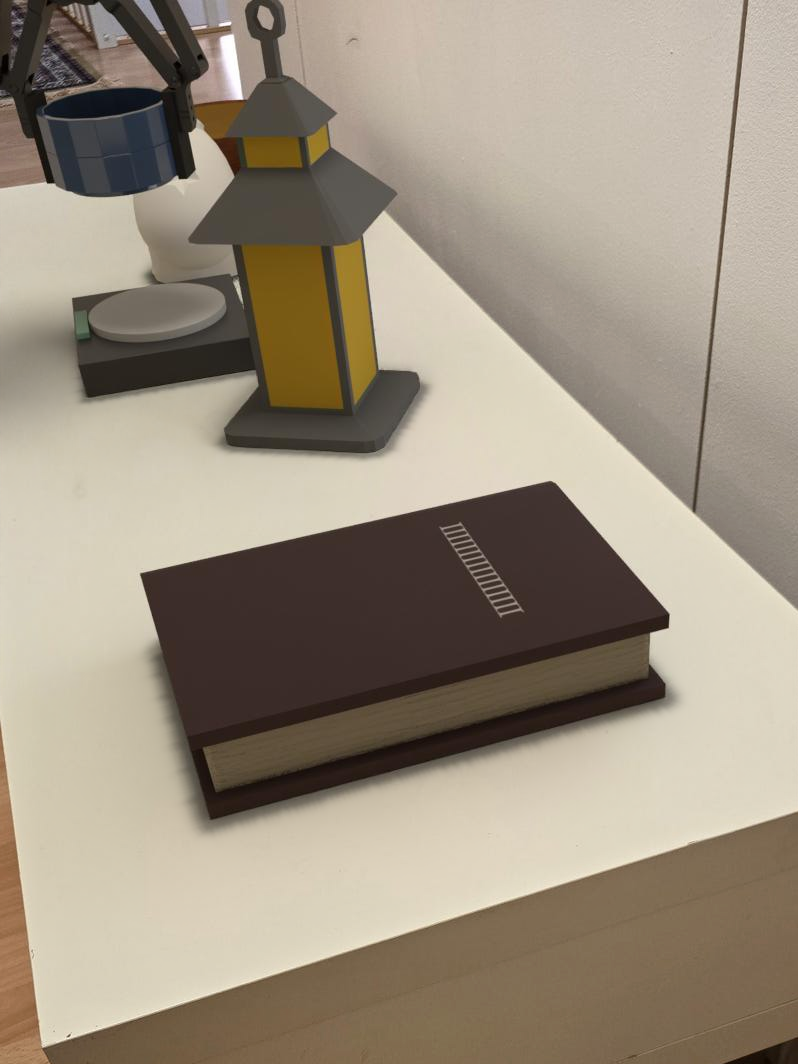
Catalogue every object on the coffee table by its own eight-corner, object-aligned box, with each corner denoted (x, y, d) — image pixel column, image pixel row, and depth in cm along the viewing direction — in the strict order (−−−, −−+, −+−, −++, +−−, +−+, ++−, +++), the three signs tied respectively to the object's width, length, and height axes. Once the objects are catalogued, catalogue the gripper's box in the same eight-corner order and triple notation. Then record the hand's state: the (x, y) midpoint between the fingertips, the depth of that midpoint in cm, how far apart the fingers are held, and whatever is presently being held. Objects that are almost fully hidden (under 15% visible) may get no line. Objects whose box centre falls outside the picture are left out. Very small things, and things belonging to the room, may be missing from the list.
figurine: (255, 286, 130) (226, 127, 119) (148, 298, 129) (110, 139, 119) (253, 252, 138) (226, 100, 127) (152, 263, 137) (117, 112, 127)
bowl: (159, 200, 154) (139, 110, 148) (297, 182, 157) (283, 92, 150) (167, 243, 142) (146, 147, 135) (316, 222, 144) (303, 127, 137)
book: (546, 547, 87) (544, 470, 83) (665, 696, 74) (669, 613, 70) (158, 639, 82) (136, 561, 78) (210, 819, 68) (186, 736, 64)
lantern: (380, 453, 100) (326, 15, 79) (220, 445, 103) (128, 21, 82) (423, 381, 110) (386, -25, 89) (276, 376, 112) (206, -19, 92)
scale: (87, 397, 111) (75, 355, 109) (80, 328, 124) (69, 289, 121) (260, 368, 114) (252, 327, 111) (235, 303, 127) (228, 264, 124)
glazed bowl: (38, 203, 103) (15, 122, 99) (83, 164, 111) (64, 88, 107) (164, 199, 102) (146, 117, 98) (202, 160, 110) (187, 83, 106)
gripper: (210, -162, 92) (263, 159, 107) (-81, -142, 95) (10, 168, 110) (181, -151, 87) (241, 185, 102) (-127, -130, 90) (-24, 194, 105)
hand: (121, 177), depth 106 cm, fingers closed on glazed bowl, 11 cm apart
